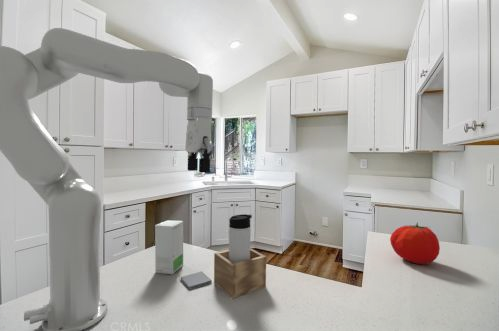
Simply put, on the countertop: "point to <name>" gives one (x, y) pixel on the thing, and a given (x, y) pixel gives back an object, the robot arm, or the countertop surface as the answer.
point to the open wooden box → (239, 273)
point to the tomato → (415, 244)
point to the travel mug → (239, 238)
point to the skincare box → (168, 246)
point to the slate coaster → (195, 280)
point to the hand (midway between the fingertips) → (198, 171)
